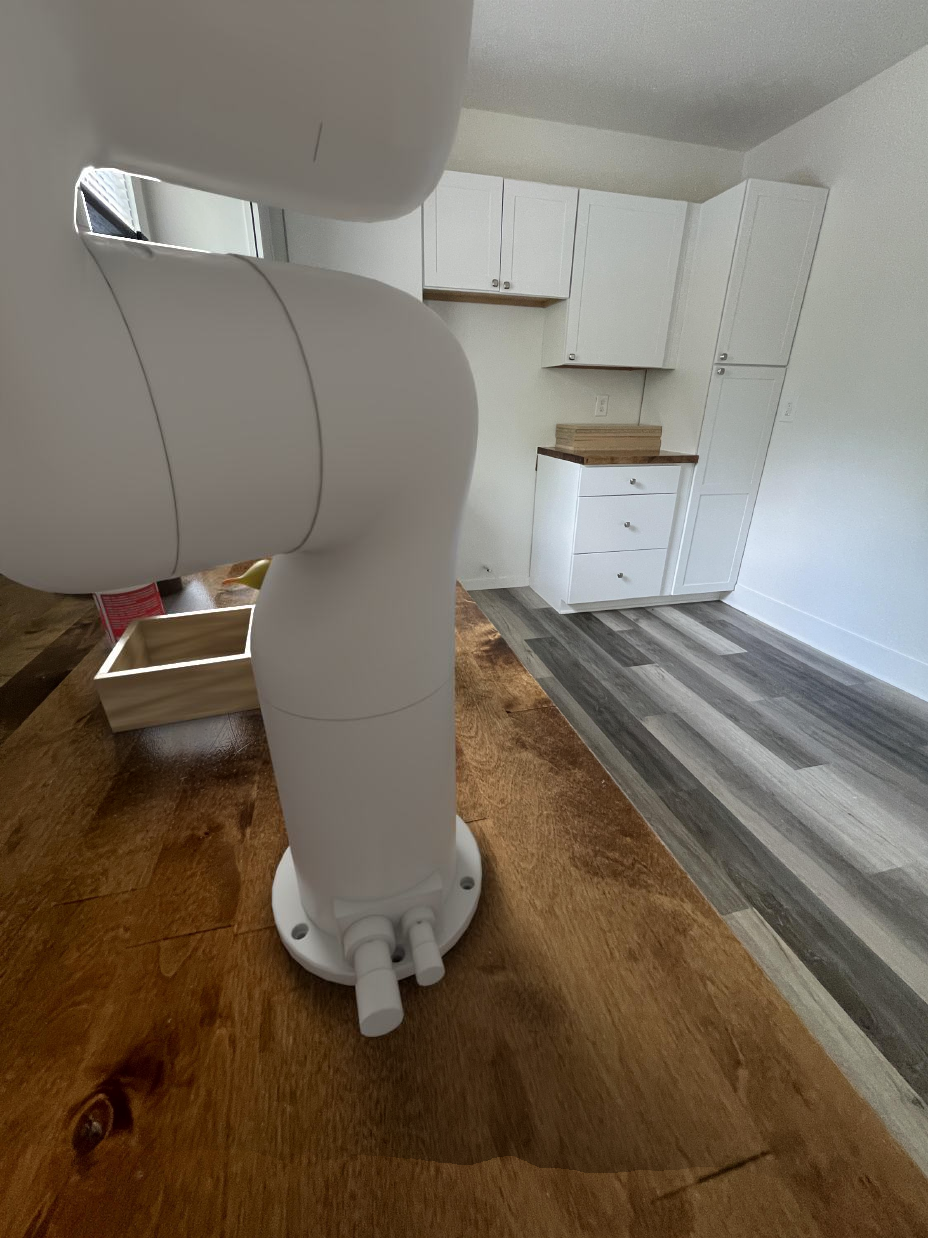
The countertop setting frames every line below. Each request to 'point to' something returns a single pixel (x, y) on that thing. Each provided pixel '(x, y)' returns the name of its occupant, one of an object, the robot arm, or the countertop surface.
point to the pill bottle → (127, 608)
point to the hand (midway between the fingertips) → (98, 431)
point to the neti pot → (252, 575)
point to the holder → (179, 669)
